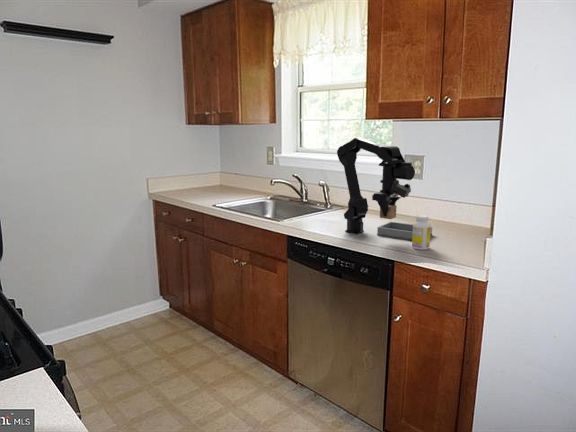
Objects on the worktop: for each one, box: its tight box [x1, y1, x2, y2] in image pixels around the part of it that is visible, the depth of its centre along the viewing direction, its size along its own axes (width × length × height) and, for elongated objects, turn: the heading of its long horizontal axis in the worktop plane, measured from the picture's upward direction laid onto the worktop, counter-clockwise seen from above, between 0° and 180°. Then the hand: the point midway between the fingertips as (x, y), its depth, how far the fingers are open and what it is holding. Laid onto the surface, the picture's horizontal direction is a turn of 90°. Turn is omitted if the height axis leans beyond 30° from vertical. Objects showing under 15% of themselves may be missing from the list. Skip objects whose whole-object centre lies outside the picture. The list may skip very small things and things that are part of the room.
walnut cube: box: [379, 204, 397, 220], centre depth 180 cm, size 5×5×5 cm
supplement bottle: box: [411, 214, 432, 251], centre depth 169 cm, size 7×7×13 cm
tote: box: [376, 221, 433, 241], centre depth 190 cm, size 20×14×4 cm
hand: (387, 214), depth 180 cm, fingers closed on walnut cube, 5 cm apart
